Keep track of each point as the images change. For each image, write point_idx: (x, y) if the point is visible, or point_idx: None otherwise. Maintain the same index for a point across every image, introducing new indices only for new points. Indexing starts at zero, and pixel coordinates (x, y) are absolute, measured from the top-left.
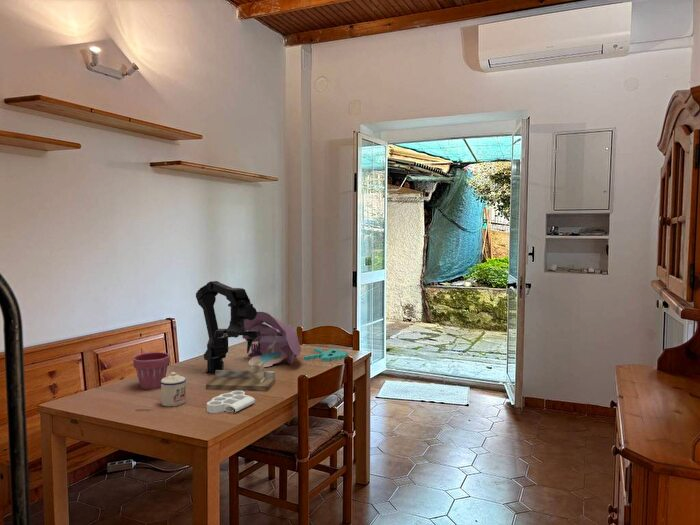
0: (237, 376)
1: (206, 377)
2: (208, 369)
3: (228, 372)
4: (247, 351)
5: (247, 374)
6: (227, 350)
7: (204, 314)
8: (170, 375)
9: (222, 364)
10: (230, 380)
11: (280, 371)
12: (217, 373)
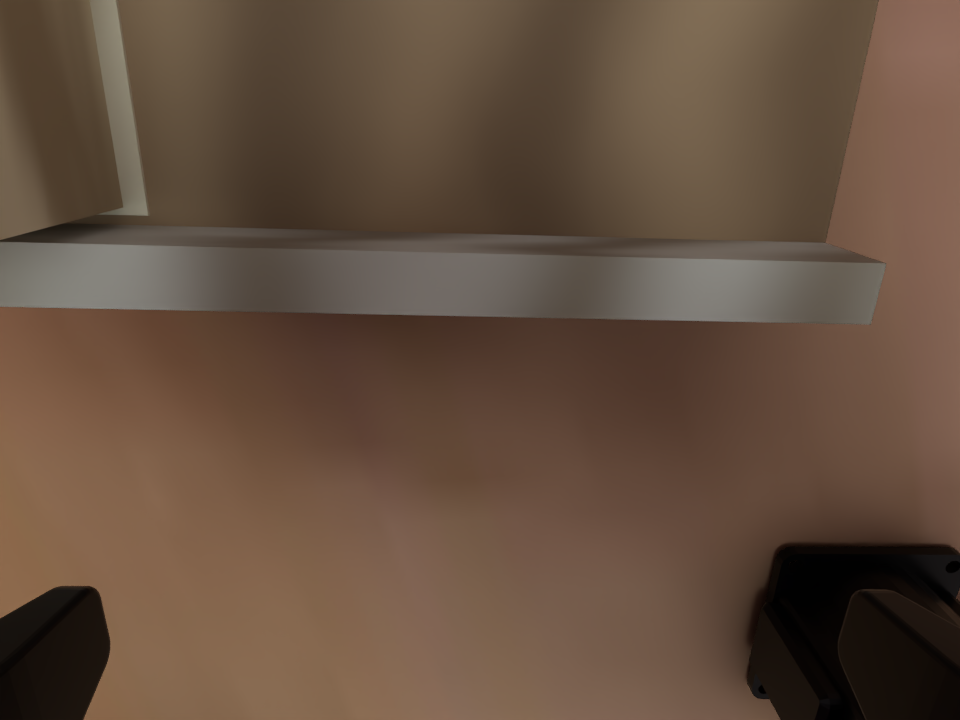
0: (442, 235)
1: (935, 396)
2: (957, 611)
3: (618, 253)
4: (31, 617)
5: (246, 235)
6: (899, 660)
7: None
8: None
9: (800, 694)
10: (511, 3)
11: None
12: (818, 251)
